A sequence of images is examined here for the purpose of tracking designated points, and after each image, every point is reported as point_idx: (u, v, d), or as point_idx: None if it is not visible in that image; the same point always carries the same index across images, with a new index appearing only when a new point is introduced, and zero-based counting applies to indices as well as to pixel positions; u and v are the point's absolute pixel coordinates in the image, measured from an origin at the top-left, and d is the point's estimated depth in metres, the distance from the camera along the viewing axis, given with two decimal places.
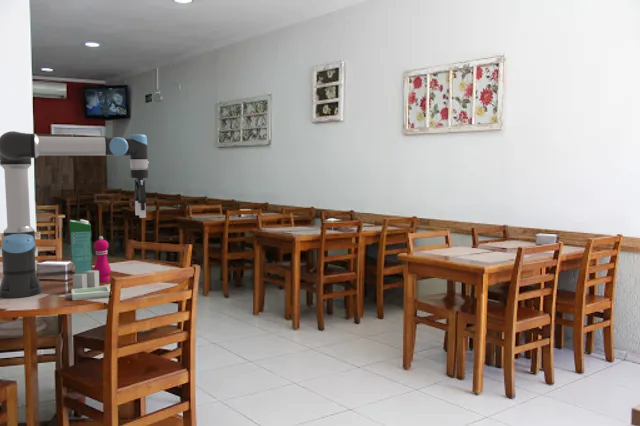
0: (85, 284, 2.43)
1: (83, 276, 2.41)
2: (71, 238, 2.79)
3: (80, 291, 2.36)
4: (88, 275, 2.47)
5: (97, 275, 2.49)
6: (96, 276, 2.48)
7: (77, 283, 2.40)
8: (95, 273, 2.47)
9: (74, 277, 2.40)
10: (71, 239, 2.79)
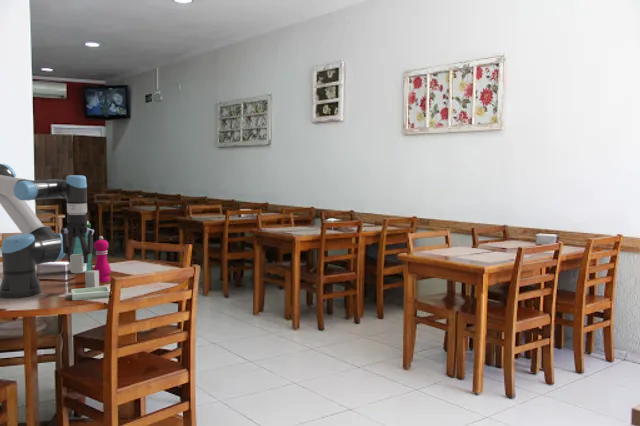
0: None
1: None
2: None
3: (80, 291, 2.36)
4: (88, 275, 2.47)
5: (97, 275, 2.49)
6: (96, 276, 2.48)
7: (75, 264, 2.40)
8: (95, 273, 2.47)
9: (72, 257, 2.39)
10: None
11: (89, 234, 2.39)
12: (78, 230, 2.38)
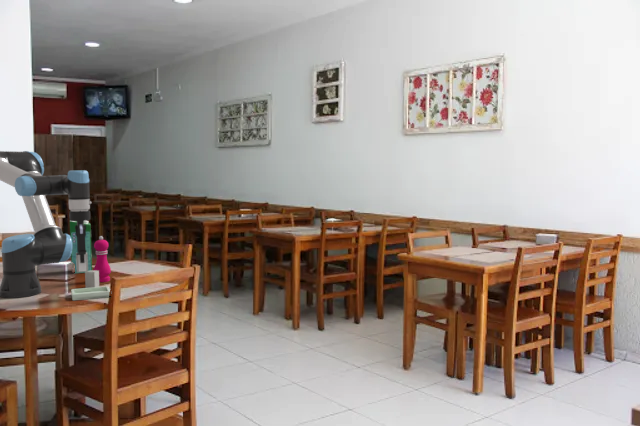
0: None
1: None
2: (71, 238, 2.79)
3: (80, 291, 2.36)
4: (88, 275, 2.47)
5: (97, 275, 2.49)
6: (96, 276, 2.48)
7: None
8: (95, 273, 2.47)
9: (87, 255, 2.31)
10: None
11: None
12: None
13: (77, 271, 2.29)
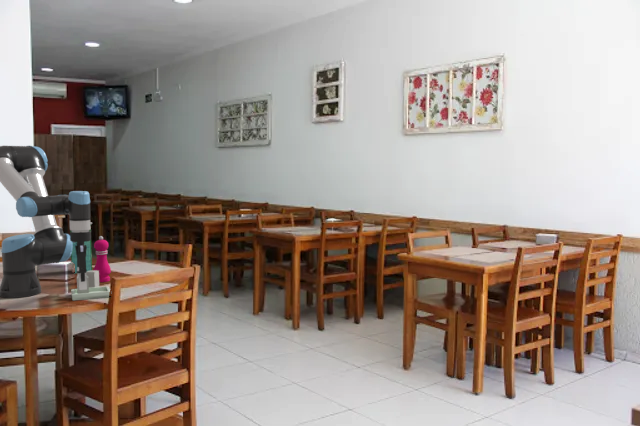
0: None
1: None
2: None
3: None
4: (88, 275, 2.47)
5: (97, 275, 2.49)
6: (96, 276, 2.48)
7: None
8: (95, 273, 2.47)
9: None
10: None
11: None
12: (86, 246, 2.33)
13: None
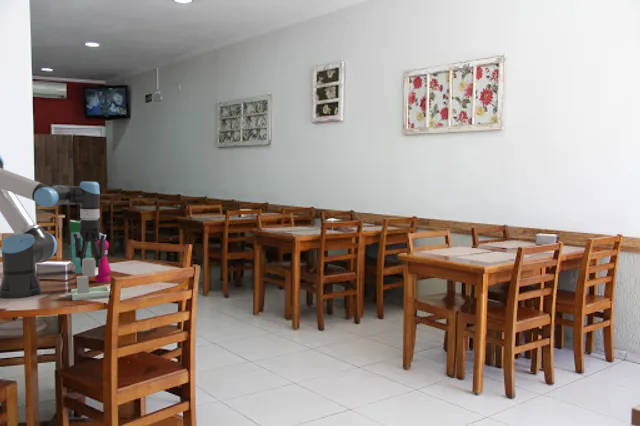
0: None
1: None
2: (71, 238, 2.79)
3: None
4: (86, 263, 2.46)
5: None
6: None
7: None
8: None
9: None
10: (71, 239, 2.79)
11: (101, 239, 2.46)
12: (91, 235, 2.45)
13: None
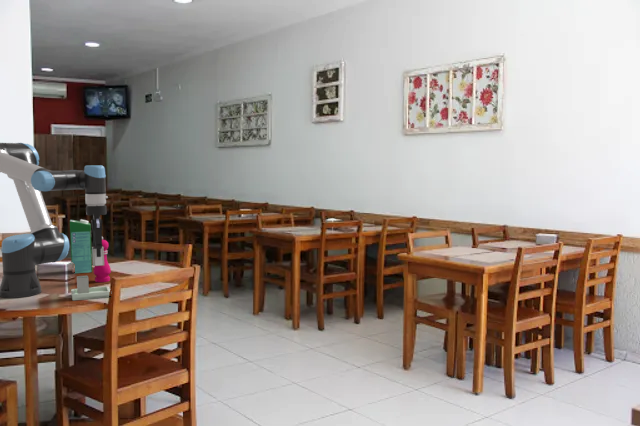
0: None
1: None
2: (71, 238, 2.79)
3: None
4: None
5: None
6: None
7: None
8: None
9: None
10: (71, 239, 2.79)
11: None
12: (101, 220, 2.35)
13: None
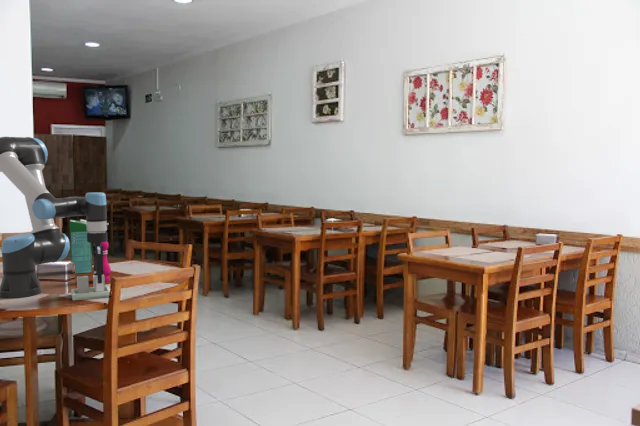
0: None
1: None
2: (71, 238, 2.79)
3: None
4: None
5: None
6: None
7: None
8: None
9: None
10: (71, 239, 2.79)
11: None
12: (102, 247, 2.36)
13: None
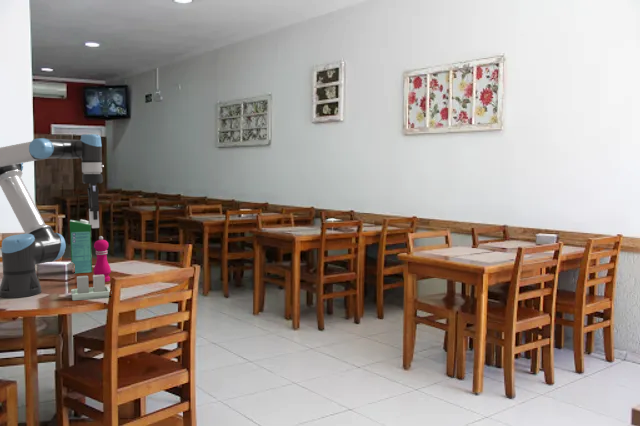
0: None
1: None
2: (71, 238, 2.79)
3: None
4: None
5: None
6: None
7: None
8: None
9: None
10: (71, 239, 2.79)
11: None
12: None
13: None
